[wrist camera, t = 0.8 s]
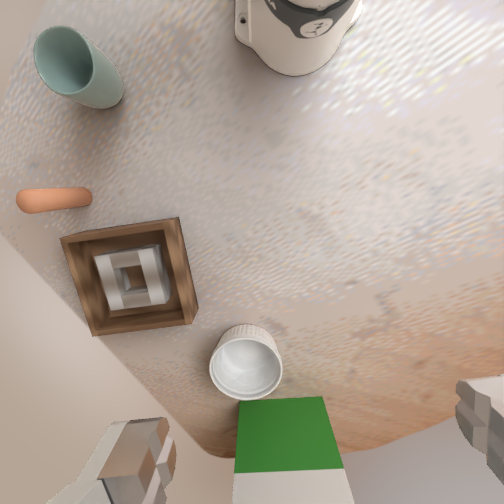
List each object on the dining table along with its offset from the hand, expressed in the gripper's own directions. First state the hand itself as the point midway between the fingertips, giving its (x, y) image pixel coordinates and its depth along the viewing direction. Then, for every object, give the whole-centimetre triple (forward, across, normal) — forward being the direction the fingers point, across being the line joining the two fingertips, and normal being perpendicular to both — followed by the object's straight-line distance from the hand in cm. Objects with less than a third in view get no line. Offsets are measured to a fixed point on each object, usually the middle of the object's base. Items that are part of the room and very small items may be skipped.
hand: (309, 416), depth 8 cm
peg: (+42, +31, -9) cm, 53 cm away
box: (+42, +24, +6) cm, 49 cm away
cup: (+43, +22, -24) cm, 54 cm away
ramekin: (+42, +8, +26) cm, 50 cm away
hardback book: (+42, +3, +43) cm, 60 cm away
